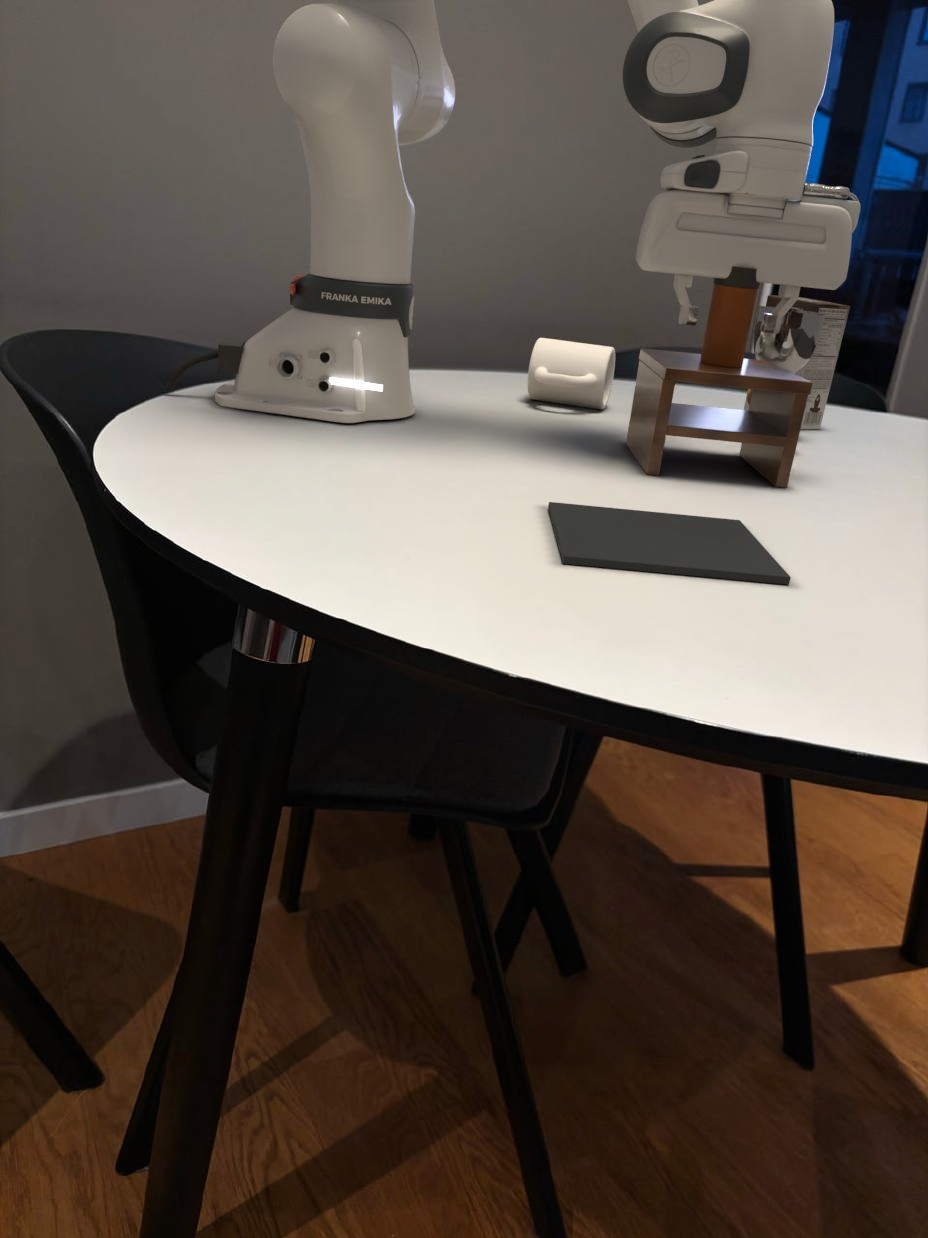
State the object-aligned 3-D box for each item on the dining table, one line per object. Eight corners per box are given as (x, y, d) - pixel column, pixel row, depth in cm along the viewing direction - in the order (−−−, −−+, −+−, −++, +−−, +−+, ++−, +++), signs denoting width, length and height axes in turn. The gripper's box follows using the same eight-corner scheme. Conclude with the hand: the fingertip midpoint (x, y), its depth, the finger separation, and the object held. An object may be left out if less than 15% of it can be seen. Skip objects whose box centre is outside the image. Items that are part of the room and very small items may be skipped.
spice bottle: (704, 364, 97) (722, 265, 93) (694, 358, 101) (712, 263, 97) (748, 369, 97) (768, 270, 93) (736, 363, 101) (755, 267, 98)
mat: (562, 563, 68) (563, 555, 68) (547, 508, 81) (548, 501, 81) (789, 585, 69) (791, 577, 68) (738, 526, 82) (739, 519, 81)
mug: (538, 394, 135) (545, 334, 132) (609, 405, 133) (618, 344, 130) (516, 407, 124) (524, 342, 121) (593, 418, 122) (603, 353, 119)
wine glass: (804, 436, 125) (832, 314, 119) (787, 444, 119) (816, 315, 113) (744, 424, 129) (768, 305, 123) (724, 431, 122) (749, 306, 117)
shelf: (647, 475, 96) (666, 367, 92) (625, 443, 110) (640, 347, 106) (788, 489, 96) (813, 382, 92) (748, 455, 110) (768, 360, 106)
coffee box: (739, 415, 135) (764, 293, 129) (772, 415, 138) (798, 296, 132) (789, 430, 128) (818, 302, 122) (823, 429, 131) (853, 304, 125)
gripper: (853, 189, 96) (820, 335, 101) (645, 167, 95) (623, 315, 100) (877, 187, 90) (841, 342, 95) (657, 164, 89) (633, 321, 94)
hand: (728, 328), depth 98 cm, fingers open, 7 cm apart
